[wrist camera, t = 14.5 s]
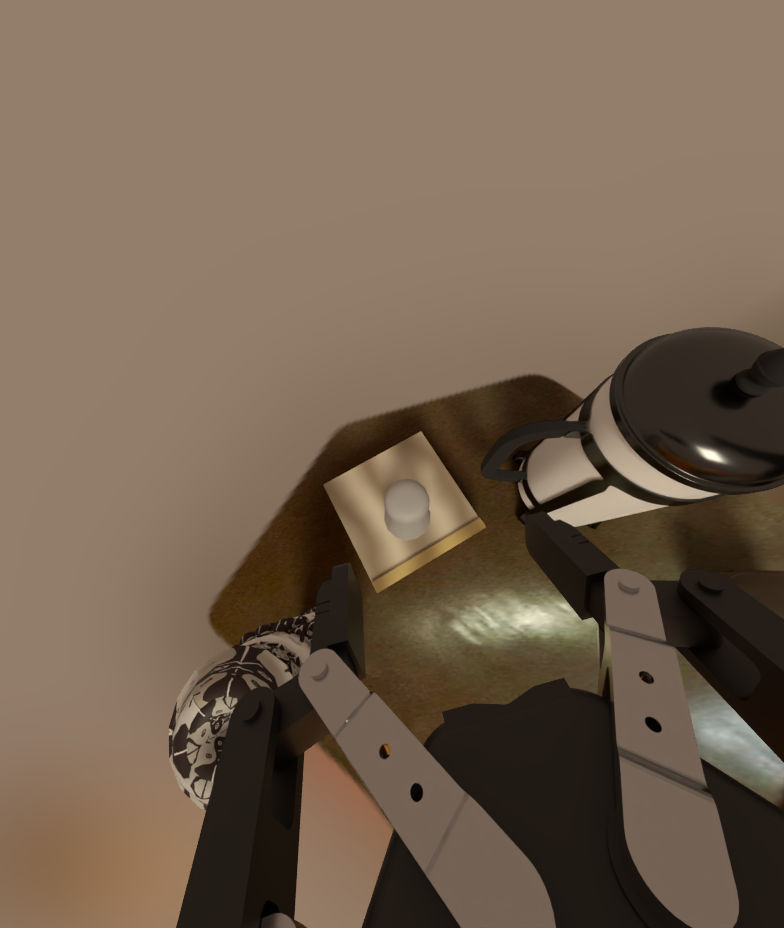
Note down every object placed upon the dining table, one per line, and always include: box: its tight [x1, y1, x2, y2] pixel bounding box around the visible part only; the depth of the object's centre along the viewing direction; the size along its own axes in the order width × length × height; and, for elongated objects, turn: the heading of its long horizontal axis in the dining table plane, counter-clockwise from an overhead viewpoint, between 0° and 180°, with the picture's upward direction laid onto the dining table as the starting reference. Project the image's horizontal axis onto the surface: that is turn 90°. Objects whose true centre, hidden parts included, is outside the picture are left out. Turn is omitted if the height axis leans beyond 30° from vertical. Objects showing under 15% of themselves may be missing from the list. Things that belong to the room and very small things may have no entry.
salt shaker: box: [384, 479, 430, 540], centre depth 33 cm, size 6×6×13 cm
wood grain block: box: [323, 431, 486, 593], centre depth 42 cm, size 16×16×5 cm
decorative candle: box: [169, 608, 315, 810], centre depth 28 cm, size 9×9×25 cm
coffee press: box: [481, 327, 784, 529], centre depth 30 cm, size 17×16×30 cm
